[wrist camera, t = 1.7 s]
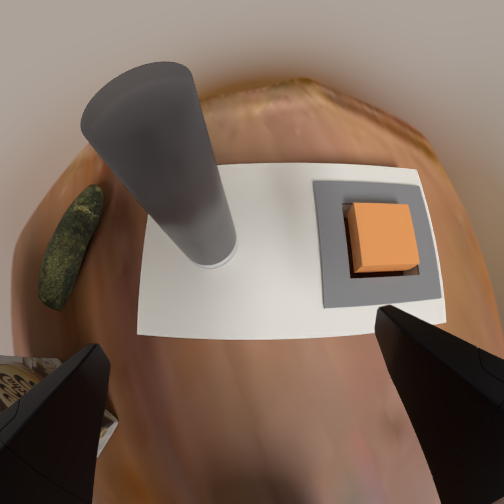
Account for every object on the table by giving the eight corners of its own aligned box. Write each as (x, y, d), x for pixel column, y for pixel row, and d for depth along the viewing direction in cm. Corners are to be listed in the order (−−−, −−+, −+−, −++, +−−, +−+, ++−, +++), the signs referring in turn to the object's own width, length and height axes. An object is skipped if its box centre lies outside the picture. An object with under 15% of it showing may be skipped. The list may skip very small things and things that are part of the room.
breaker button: (398, 215, 21) (408, 204, 19) (408, 270, 19) (419, 263, 18) (347, 214, 21) (353, 202, 19) (354, 272, 20) (362, 265, 18)
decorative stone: (60, 217, 25) (34, 197, 21) (114, 194, 26) (91, 168, 21) (63, 314, 22) (29, 306, 17) (123, 299, 22) (92, 288, 17)
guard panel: (406, 183, 24) (417, 168, 21) (430, 325, 20) (448, 322, 17) (164, 184, 25) (154, 168, 23) (150, 335, 21) (135, 334, 18)
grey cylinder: (204, 280, 20) (97, 166, 6) (175, 239, 21) (72, 108, 7) (248, 246, 20) (217, 89, 7) (217, 208, 21) (162, 51, 8)
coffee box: (121, 419, 19) (-24, 468, 3) (97, 459, 17) (-22, 512, 2) (57, 354, 21) (-80, 337, 5) (39, 397, 19) (-82, 400, 4)
